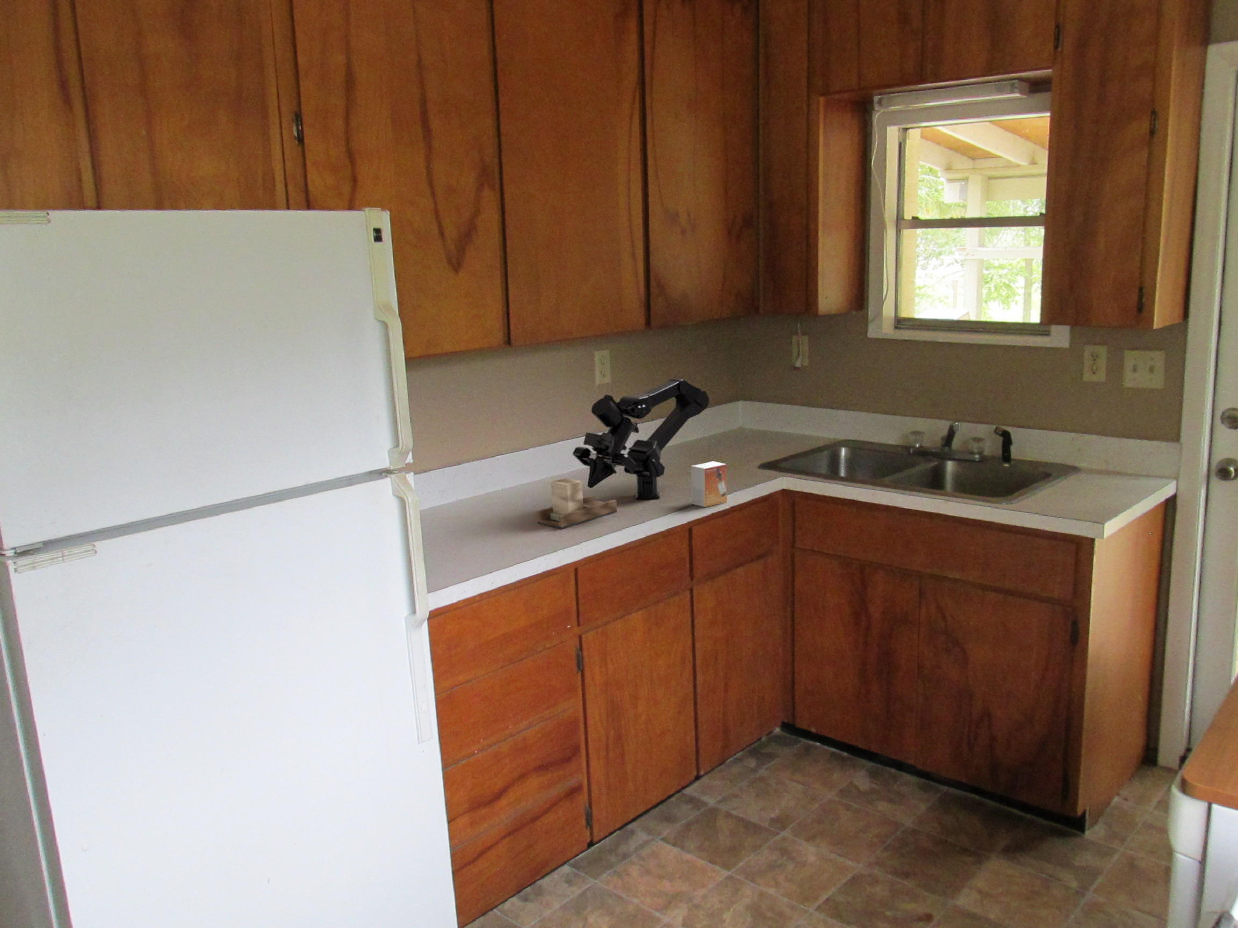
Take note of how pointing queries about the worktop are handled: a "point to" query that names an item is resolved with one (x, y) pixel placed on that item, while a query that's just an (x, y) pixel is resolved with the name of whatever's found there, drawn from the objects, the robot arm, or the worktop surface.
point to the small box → (709, 484)
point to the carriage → (566, 496)
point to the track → (577, 513)
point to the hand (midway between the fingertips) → (589, 487)
